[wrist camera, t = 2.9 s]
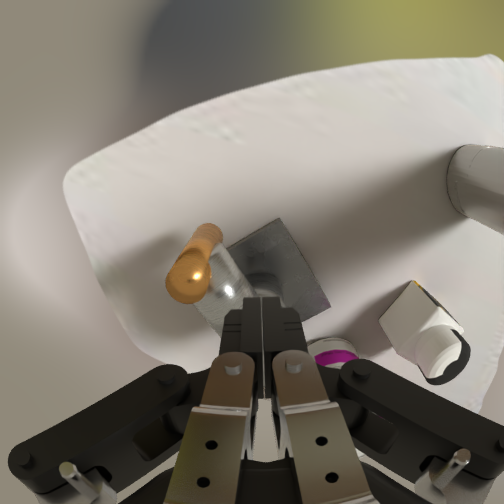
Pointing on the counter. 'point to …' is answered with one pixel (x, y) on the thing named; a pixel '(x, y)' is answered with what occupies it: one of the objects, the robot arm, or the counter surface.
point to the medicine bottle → (426, 335)
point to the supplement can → (334, 356)
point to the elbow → (209, 278)
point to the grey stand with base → (279, 270)
